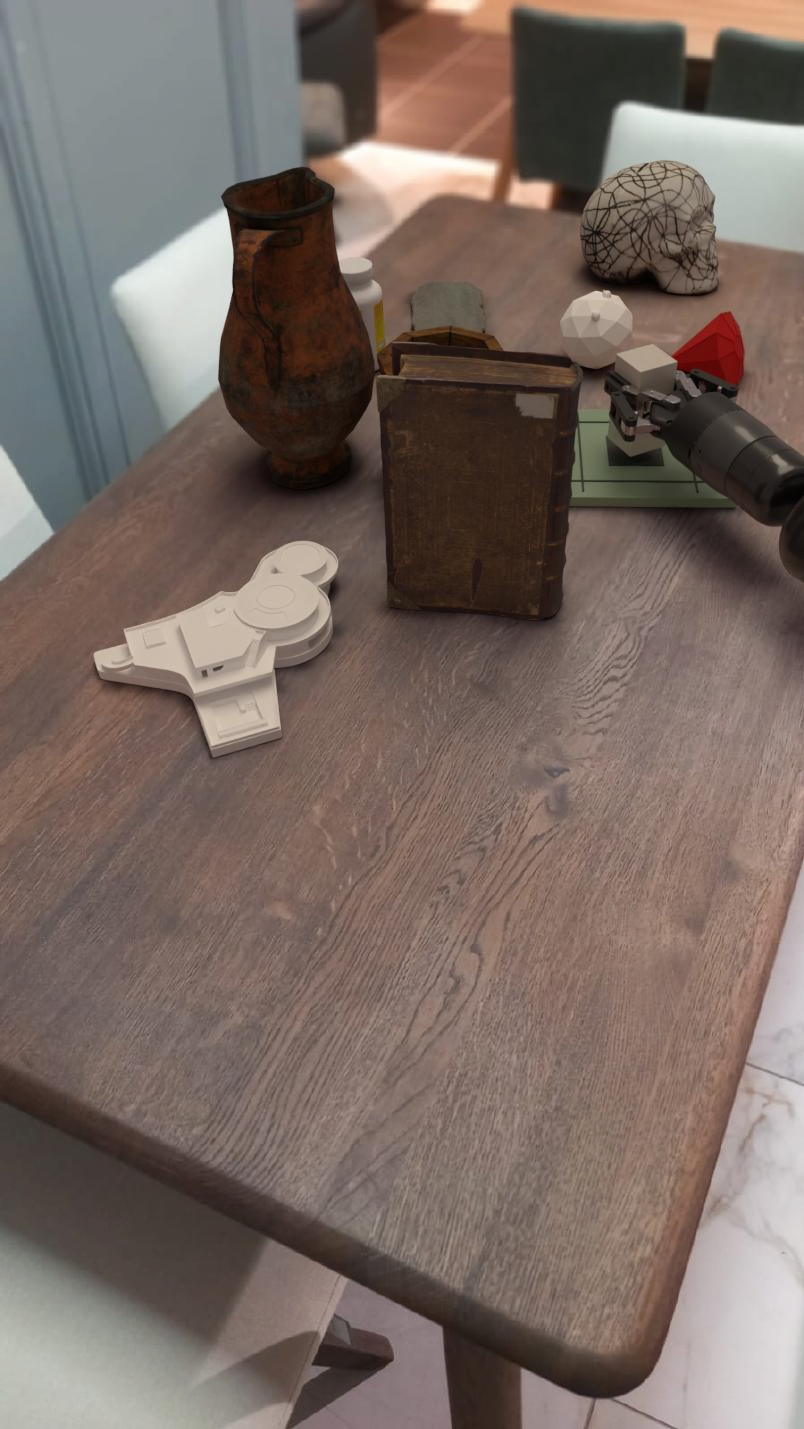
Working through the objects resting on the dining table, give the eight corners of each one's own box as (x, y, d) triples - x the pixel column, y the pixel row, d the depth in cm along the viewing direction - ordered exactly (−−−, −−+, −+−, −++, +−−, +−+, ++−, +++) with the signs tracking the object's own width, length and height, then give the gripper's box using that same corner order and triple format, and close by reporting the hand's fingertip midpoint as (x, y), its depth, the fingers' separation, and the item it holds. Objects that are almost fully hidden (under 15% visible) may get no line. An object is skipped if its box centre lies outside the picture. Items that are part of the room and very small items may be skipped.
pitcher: (395, 428, 130) (382, 159, 108) (352, 535, 115) (327, 250, 94) (261, 418, 133) (222, 154, 111) (202, 521, 118) (145, 240, 97)
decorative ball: (641, 402, 136) (619, 325, 127) (564, 399, 142) (538, 325, 133) (665, 352, 140) (645, 273, 130) (589, 351, 145) (565, 275, 136)
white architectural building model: (84, 620, 107) (72, 584, 104) (327, 557, 113) (323, 521, 110) (127, 782, 92) (115, 746, 89) (405, 701, 98) (403, 664, 94)
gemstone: (641, 375, 133) (720, 357, 127) (650, 314, 136) (729, 294, 130) (671, 414, 140) (748, 399, 134) (679, 356, 142) (755, 338, 136)
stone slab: (479, 299, 155) (409, 293, 154) (482, 280, 153) (411, 274, 152) (489, 380, 139) (411, 374, 139) (493, 360, 137) (414, 354, 137)
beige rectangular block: (642, 427, 123) (652, 343, 116) (665, 446, 120) (678, 361, 113) (607, 437, 122) (615, 353, 115) (630, 457, 119) (640, 372, 112)
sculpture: (666, 317, 147) (683, 201, 136) (555, 273, 157) (562, 162, 147) (735, 280, 153) (755, 167, 143) (623, 241, 164) (635, 133, 153)
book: (567, 591, 107) (588, 353, 90) (553, 638, 103) (573, 397, 85) (404, 566, 111) (393, 333, 93) (383, 610, 107) (368, 373, 89)
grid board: (713, 418, 129) (715, 408, 128) (735, 508, 116) (737, 497, 115) (542, 417, 130) (542, 407, 129) (545, 506, 118) (545, 495, 117)
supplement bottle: (373, 347, 144) (368, 249, 135) (394, 369, 140) (390, 269, 131) (326, 359, 142) (317, 260, 133) (346, 381, 138) (338, 281, 129)
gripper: (793, 394, 106) (689, 324, 117) (669, 432, 102) (573, 355, 113) (777, 461, 112) (679, 388, 123) (659, 499, 108) (569, 420, 119)
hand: (629, 373), depth 118 cm, fingers closed on beige rectangular block, 4 cm apart
